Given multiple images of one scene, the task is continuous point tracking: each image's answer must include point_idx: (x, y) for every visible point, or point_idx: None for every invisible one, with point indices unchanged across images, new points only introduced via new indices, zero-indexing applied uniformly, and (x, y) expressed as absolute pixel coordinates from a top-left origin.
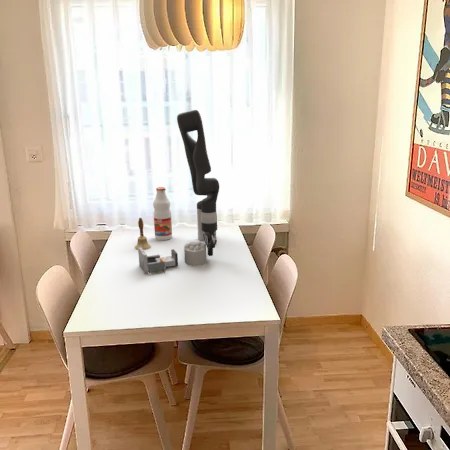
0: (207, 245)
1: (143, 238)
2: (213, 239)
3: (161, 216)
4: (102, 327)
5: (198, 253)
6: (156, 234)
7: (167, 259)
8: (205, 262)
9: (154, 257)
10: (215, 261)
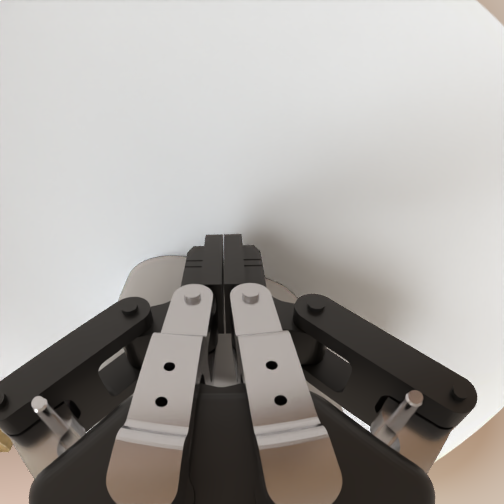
0: (215, 365)
1: (3, 447)
2: (438, 445)
3: None
4: (442, 455)
5: None
6: None
7: None
8: (291, 294)
9: None
10: (298, 208)
